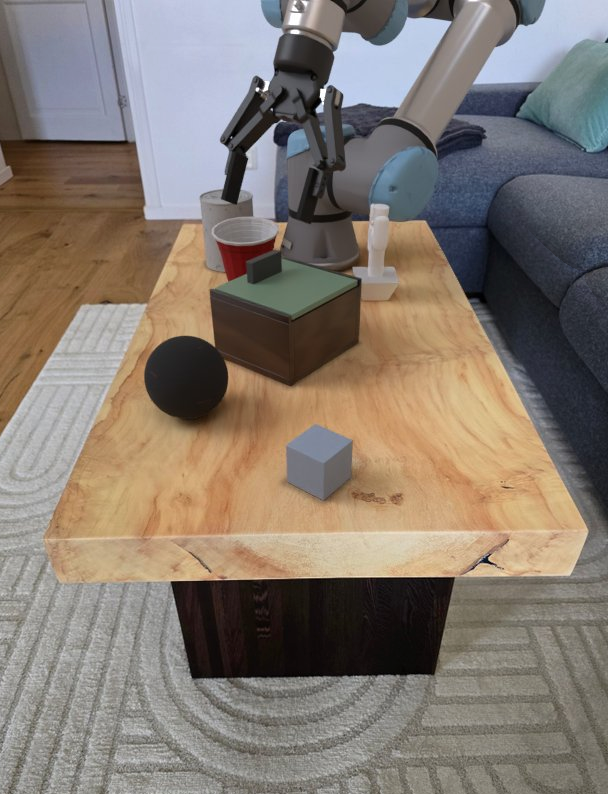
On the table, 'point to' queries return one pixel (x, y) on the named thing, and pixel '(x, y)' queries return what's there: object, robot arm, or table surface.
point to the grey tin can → (220, 220)
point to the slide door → (286, 285)
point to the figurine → (377, 259)
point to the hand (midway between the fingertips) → (264, 211)
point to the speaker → (186, 377)
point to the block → (319, 461)
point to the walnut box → (285, 333)
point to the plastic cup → (243, 242)
